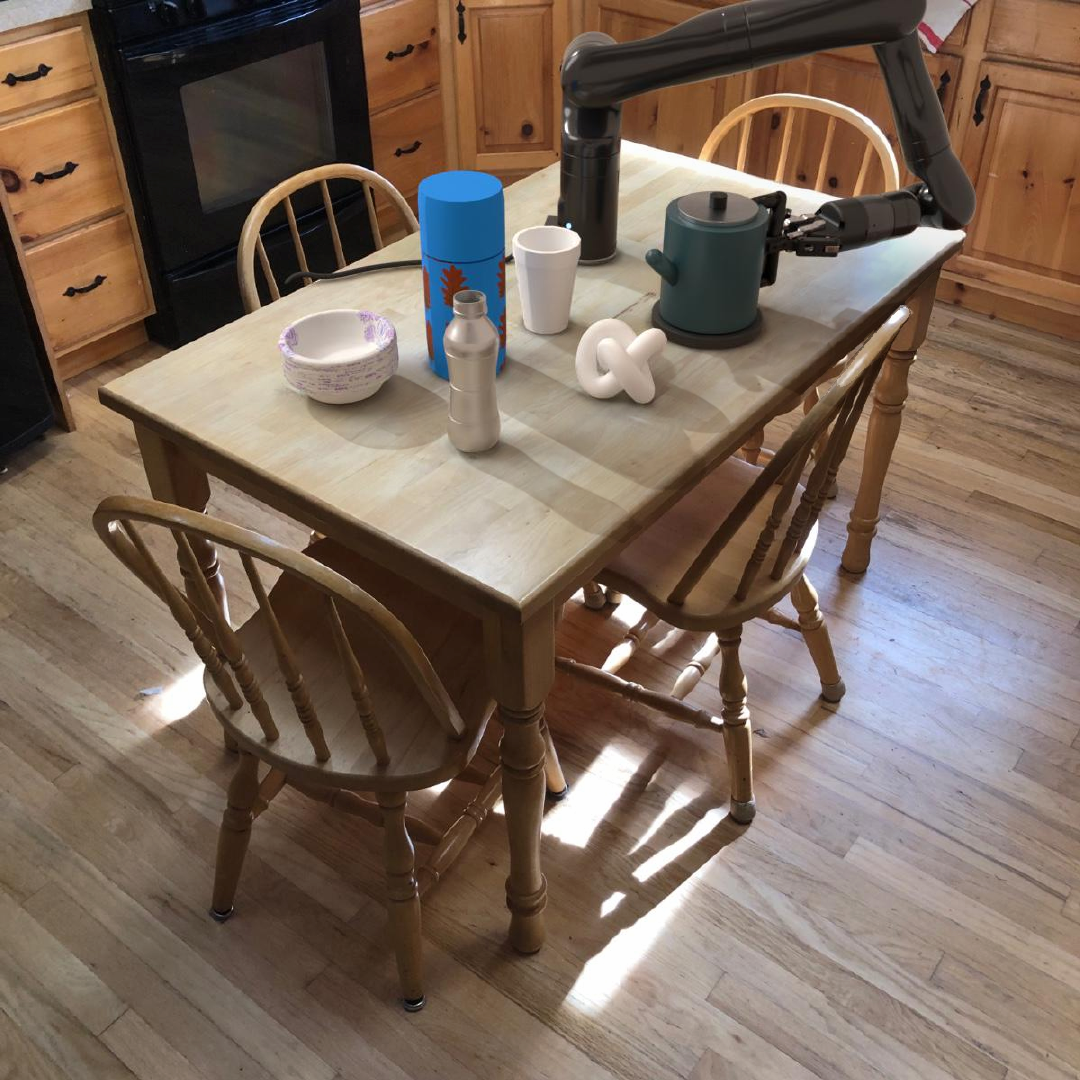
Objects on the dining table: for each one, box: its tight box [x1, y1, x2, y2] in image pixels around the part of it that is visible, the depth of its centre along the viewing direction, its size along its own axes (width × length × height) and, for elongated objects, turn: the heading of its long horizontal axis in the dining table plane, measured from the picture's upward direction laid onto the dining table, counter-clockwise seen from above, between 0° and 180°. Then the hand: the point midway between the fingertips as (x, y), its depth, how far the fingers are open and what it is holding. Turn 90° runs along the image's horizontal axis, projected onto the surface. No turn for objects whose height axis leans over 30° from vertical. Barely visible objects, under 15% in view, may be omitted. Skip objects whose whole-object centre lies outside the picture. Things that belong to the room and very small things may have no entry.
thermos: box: [417, 170, 507, 381], centre depth 155 cm, size 11×11×25 cm
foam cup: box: [511, 225, 581, 335], centre depth 168 cm, size 10×9×13 cm
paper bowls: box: [277, 308, 400, 405], centre depth 155 cm, size 15×15×8 cm
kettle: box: [645, 189, 788, 334], centre depth 166 cm, size 24×14×17 cm, turn 121°
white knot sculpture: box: [575, 318, 668, 405], centre depth 153 cm, size 11×12×9 cm
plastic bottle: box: [443, 290, 502, 453], centre depth 140 cm, size 6×7×20 cm
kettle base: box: [650, 298, 764, 350], centre depth 172 cm, size 16×16×2 cm
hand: (757, 243), depth 169 cm, fingers closed on kettle, 2 cm apart
